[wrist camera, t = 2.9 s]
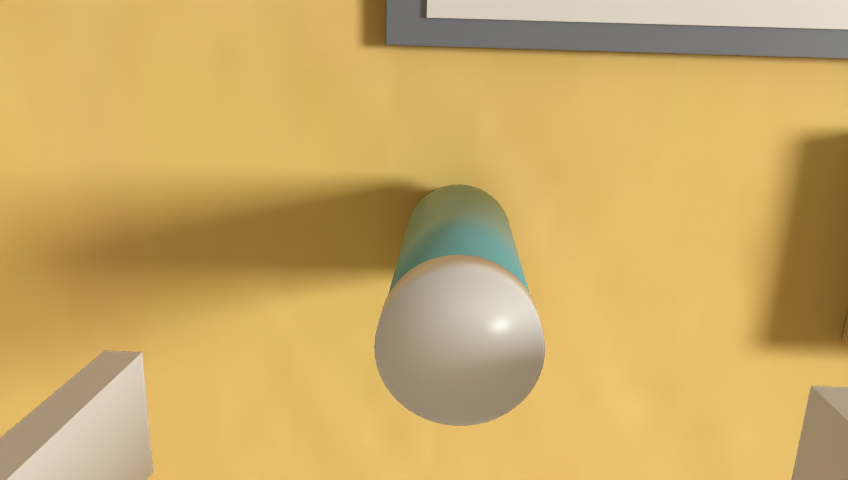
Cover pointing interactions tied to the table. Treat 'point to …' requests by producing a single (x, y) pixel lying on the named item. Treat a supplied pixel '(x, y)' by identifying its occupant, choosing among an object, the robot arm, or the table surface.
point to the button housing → (845, 332)
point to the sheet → (627, 25)
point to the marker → (459, 313)
